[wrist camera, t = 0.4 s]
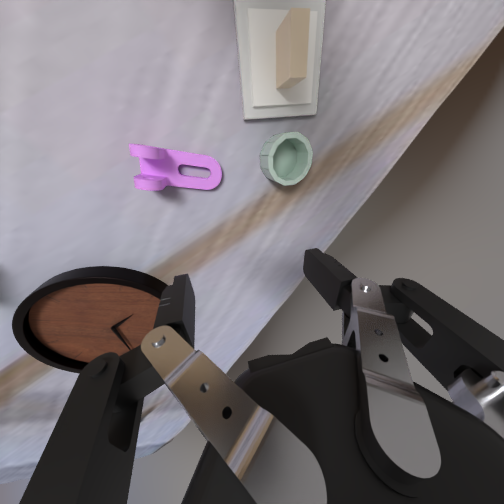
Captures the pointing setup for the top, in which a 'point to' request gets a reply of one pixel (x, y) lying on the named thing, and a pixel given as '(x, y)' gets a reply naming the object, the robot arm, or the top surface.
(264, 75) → the cover
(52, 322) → the wall clock
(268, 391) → the robot arm
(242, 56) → the mat
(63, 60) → the top surface
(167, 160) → the bracket
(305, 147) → the cup
